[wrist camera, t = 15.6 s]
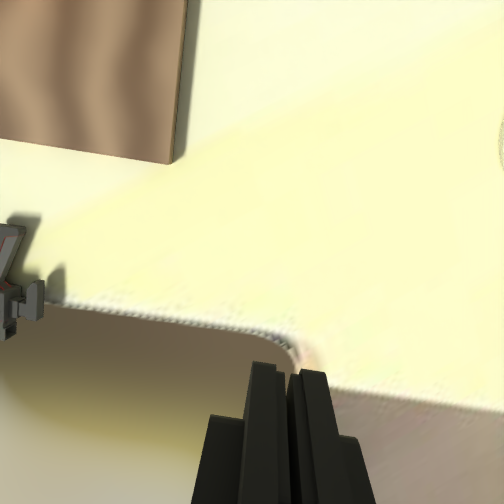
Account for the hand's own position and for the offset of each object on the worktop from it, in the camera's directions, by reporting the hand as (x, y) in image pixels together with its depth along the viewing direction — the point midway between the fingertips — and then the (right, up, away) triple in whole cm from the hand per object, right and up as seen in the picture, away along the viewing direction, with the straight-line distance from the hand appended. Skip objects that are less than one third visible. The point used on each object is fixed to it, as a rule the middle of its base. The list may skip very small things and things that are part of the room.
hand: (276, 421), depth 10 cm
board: (-15, +23, +28) cm, 39 cm away
